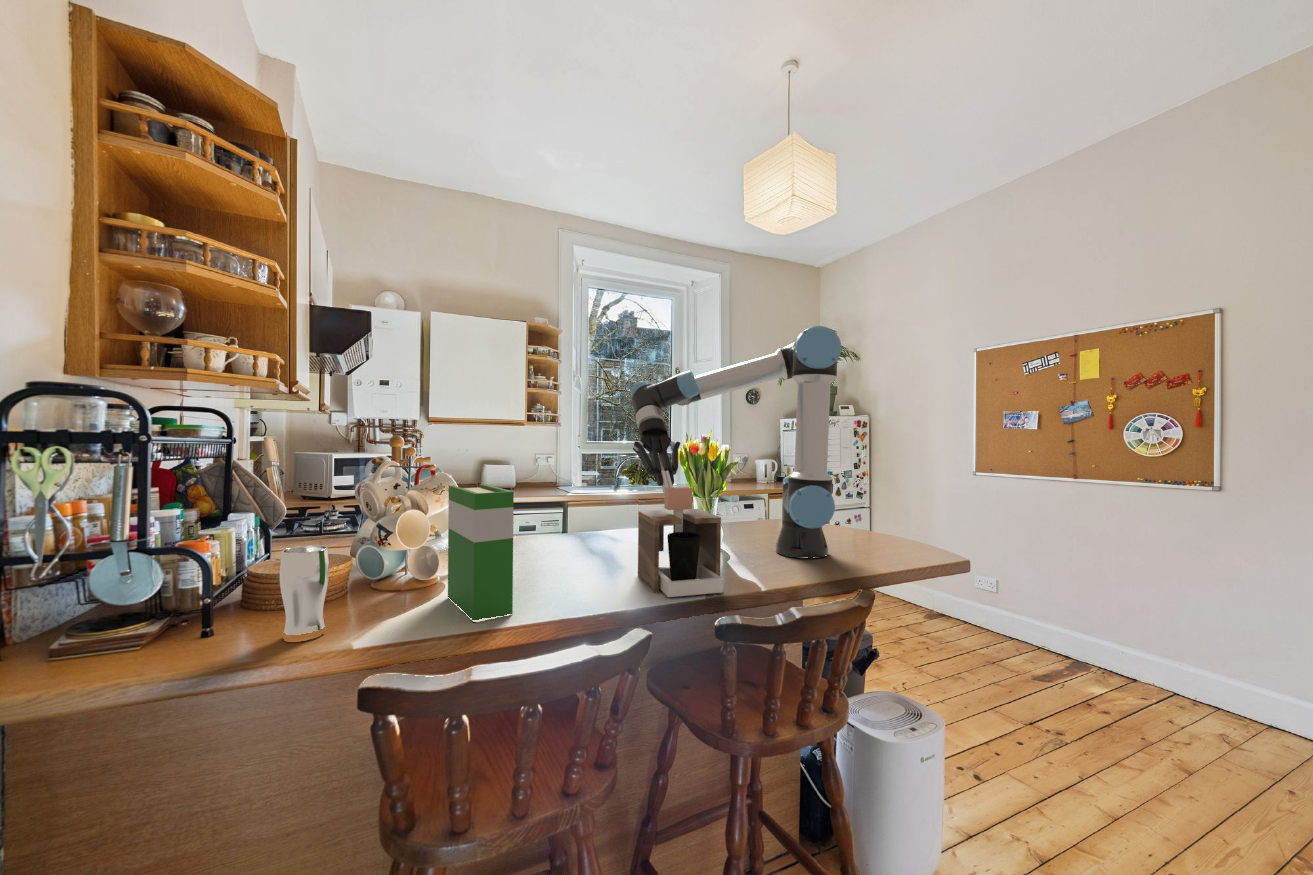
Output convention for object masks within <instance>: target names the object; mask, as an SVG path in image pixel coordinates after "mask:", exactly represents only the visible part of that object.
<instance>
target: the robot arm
mask: <svg viewBox="0 0 1313 875" xmlns="http://www.w3.org/2000/svg"><path fill="white" fill-rule="evenodd" d="M841 353H842V342H841V339H840V336H839V335H838V334H837V332H835V331H834V330H833V329H832V328H829V327H827V326H825V325H813V326H810V327H808V328H806V329H804V330H802V331H801V332H800V333H799V334H798V336H796V338H795V341H794V342H792V343H789V344H788V345H785V346H783V347H780V348H777V349H776V351H775V352H774V353H771V354H768V355H765V356H760V357H758V358H754V359H750V360H748V361H747V360H746V361H743V362H739V363H736V364H733V365H729V366H726V367H723V368H719V369H715V370H712V371H709V372H705V373H701V374H699V375H696V376H695V375H694V373H693V372H692V371H691V370H687V371H686V370H685V371H683V372H680V373H678V374H676V375H673V376H671V377H669V378H666V379H664V380H662V381H660V382H656V383H653V382H651V381H648V380H645V381H643V380H641V381H637V382H636V383H635V384H634V385H632V387H631V389H630V398H631V400H630V401H631V404H632V408H633V412H634V416H635V420H636V425H637V428H638V433H639V437H640V440H639V441H634V442H633V443H634V444H633V445H632V446H633V447H632V450H633V451H634V452H635V454H637V455H638V458H639V459H640V461H641V464H642V465H643V467H644V470H645V471H646V473H647V475H648V476H652V475H653V476H654V478H655V479H656V483H657V485H658V486H659V487H661V488H662V492H663V493H662V494H663V497H664V498H665V488H666V487H673V486H674V483H675V477H674V476H675V475H676V474H677V472H678V470H679V448H680V446H681V442H680V441H676V442H674V441H672V439H671V437H670V436H669V434H668V429H667V426H666V423H665V418H664V415H663V412H662V410H663V409H667V408H669V407H672V406H674V405H678V406H683V407H684V406H688V405H690V404H691V403H694V402H697V401H700V400H705V399H707V398H712V397H715V396H720V395H724V394H726V393H730V392H734V391H738V390H741V389H745V388H747V387H753V386H756V385H759V384H760V385H761V384H763V383H766V382H770V381H773V380H777V379H781V378H782V379H784V380H789V379H793V380H794V381H795V382H796V384H797V391H796V392H797V398H796V416H795V418H796V421H795V422H796V424H795V446H794V447H795V448H794V451H795V452H794V469H793V471H792V472H791V473H790V474H789V475H788V476H785V477H784V478H783V479H782V484H781V489H782V499H781V500H782V501H781V502H782V504H781V505H782V506H781V507H782V509H781V528H780V532H779V534H778V536H777V540H776V543H775V552H776V553H777V554H778V553H780V554H782V555H781V556H784V555H787V556H786V557H788V556H791V557H790V558H793V557H808V558H813V557H823V556H825V555H828V556H829V545H828V543H827V539H826V538H825V533H824V530H823V527H824V526H826V525H827V524H828V523H829V522H830V521H831V520H832V519H833V517H834V515H835V508H836V504H835V499H834V497H833V477H832V476H831V475H830V473H828V458H829V457H828V455H829V454H828V451H829V433H830V432H829V429H830V428H829V427H830V405H831V400H830V399H831V384H832V383H833V382H834V381H835V380H836V379H837V377H838V375H837V374H838V360H839V358H840V357H841ZM669 447H670V450H671V460H670V458H669V454H668V448H669ZM647 452H648V453H647ZM648 454H649V455H648ZM660 462H661V463H660ZM661 464H662V466H661ZM662 467H663V470H662ZM780 554H779V555H780Z"/></svg>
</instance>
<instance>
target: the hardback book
mask: <svg viewBox="0 0 1313 875" xmlns="http://www.w3.org/2000/svg"><path fill="white" fill-rule="evenodd" d="M514 495H515V494H514V491H513V490H508V489H505V488H502V487H497V486H493V485H489V484H486V483H480V484H479V487H463V488H462V487H460V486H457V485H448V512H447V513H448V517H447V518H448V520H447V521H448V525H447V529H448V531H447V532H448V533H447V534H448V537H447V540H448V542H447V546H448V547H447V549H448V550H447V598H448V597H449V598H450V599H451V600H452V601H453V602H454V603H455V604H457V606H459V607H460V608H461V609H462V610H463V611H464V612H465V613H466V614H467V615H468V616H469V617H470V618H472V620H479V619H482V618H491V617H496V616H504V615H507V614H512V615H514V614H513V612H514V611H513V606H514V604H513V597H514V596H513V595H514V593H513V590H514V567H513V566H514V500H515V499H514Z"/></svg>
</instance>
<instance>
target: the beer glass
mask: <svg viewBox="0 0 1313 875" xmlns="http://www.w3.org/2000/svg"><path fill="white" fill-rule="evenodd" d="M329 562H330V560H329V552H328V546H327V545H324V544H310V545H309V544H307V545H306V544H305V545H300V546H299V545H298V546H292V547H288V548H285V549H282V550H281V556H280V565H279V566H280V567H279V587H280V594H281V598H282V602H283V607H284V611H285V625H284V628H283V629H284V630H283V633H285V634H286V635H301V634H306V633H312V632H313V631H318V630H320V629H323V628H324V627H325V628H326V624H325V621H324V605H325V600H326V596H327V590H328V585H329V584H328V583H329V579H330V578H329V576H330V563H329Z"/></svg>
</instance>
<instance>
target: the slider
mask: <svg viewBox="0 0 1313 875" xmlns="http://www.w3.org/2000/svg"><path fill="white" fill-rule="evenodd" d="M663 507H664V509H665V510H668V511H673V514H672V515H674V516H676V517H679V518H681V519H682V524H680V525H672V529H673V530H672V533H674V532H683V509H693V488H692V487H689V486H680V487H678V486H677V487H675V486H674V487H666V488H665V497H664V506H663ZM658 590H660V591H662V593H663V594H664V595H666V597H667V598H674V597H684V596H696V595H697V596H698V595H706V594H721V593H723V592H724V578H723V577H721V575H720V576H718V575H717V574H715V573H714V572H712V571H711V570H709V569H708V568H706V567H705V566H703V565H697V575H696V579H693V580H680V581H671V576H670V566H660V567H659V589H658Z"/></svg>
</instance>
